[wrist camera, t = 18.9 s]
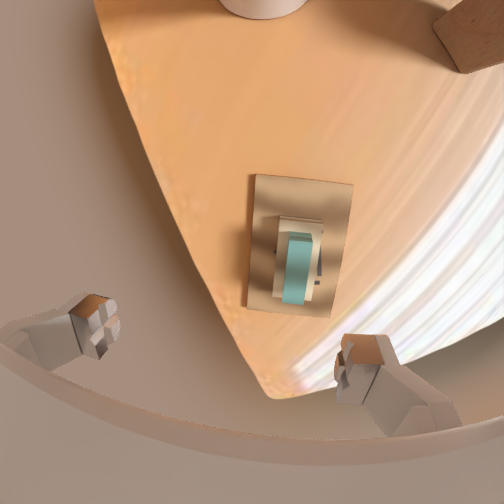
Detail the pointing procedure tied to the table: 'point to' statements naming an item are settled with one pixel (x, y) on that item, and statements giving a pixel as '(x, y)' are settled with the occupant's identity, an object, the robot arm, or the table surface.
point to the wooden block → (473, 34)
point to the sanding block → (296, 258)
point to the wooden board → (266, 238)
